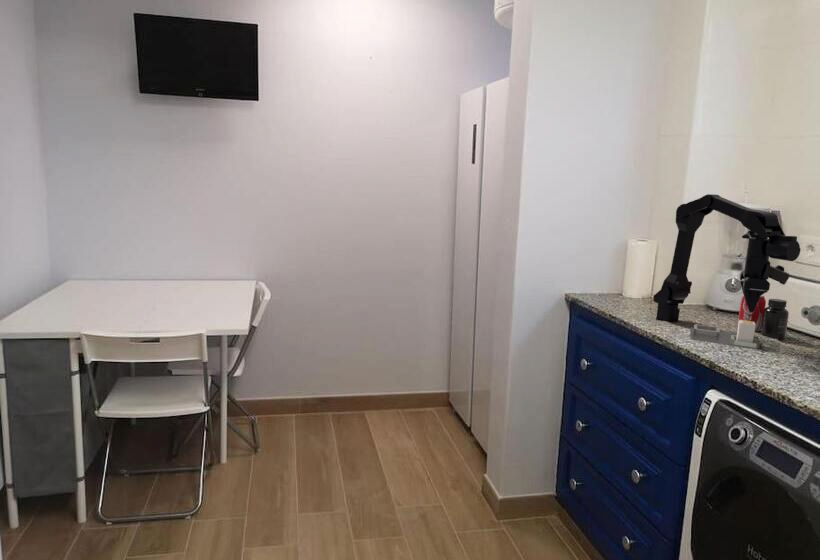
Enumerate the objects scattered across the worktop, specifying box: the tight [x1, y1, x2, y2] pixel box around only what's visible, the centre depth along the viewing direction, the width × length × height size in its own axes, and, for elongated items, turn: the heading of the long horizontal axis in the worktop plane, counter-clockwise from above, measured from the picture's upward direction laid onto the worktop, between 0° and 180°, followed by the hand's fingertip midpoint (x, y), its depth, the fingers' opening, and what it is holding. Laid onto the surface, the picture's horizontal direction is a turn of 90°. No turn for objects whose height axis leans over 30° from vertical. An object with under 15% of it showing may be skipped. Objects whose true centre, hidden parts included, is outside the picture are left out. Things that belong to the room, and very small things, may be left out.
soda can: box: [737, 294, 767, 332], centre depth 198 cm, size 7×7×12 cm
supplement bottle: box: [760, 298, 790, 341], centre depth 191 cm, size 7×7×12 cm
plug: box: [736, 320, 756, 342], centre depth 180 cm, size 4×4×7 cm
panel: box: [689, 323, 763, 351], centre depth 186 cm, size 19×16×2 cm
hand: (749, 308), depth 178 cm, fingers open, 9 cm apart
